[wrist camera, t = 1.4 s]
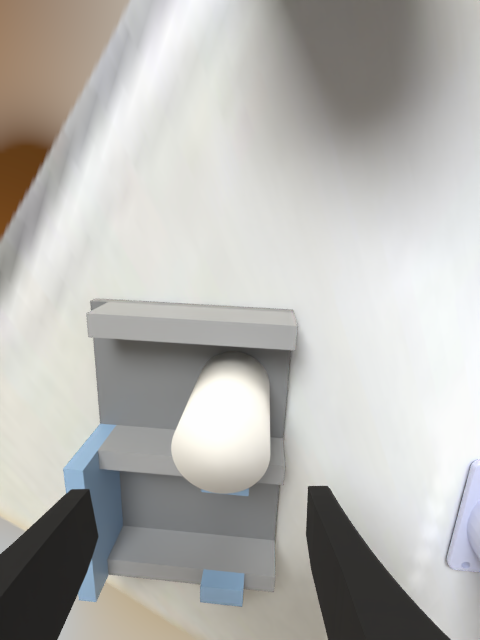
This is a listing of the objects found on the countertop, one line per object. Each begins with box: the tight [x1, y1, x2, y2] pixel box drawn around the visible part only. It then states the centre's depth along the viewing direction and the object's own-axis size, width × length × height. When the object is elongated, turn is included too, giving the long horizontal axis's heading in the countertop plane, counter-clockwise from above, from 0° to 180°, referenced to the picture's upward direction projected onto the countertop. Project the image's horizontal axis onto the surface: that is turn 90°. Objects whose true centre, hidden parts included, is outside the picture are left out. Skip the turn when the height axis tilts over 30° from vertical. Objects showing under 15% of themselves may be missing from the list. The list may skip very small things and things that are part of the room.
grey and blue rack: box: [63, 299, 298, 607], centre depth 19 cm, size 11×16×5 cm
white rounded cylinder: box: [171, 352, 270, 494], centre depth 17 cm, size 4×4×6 cm
